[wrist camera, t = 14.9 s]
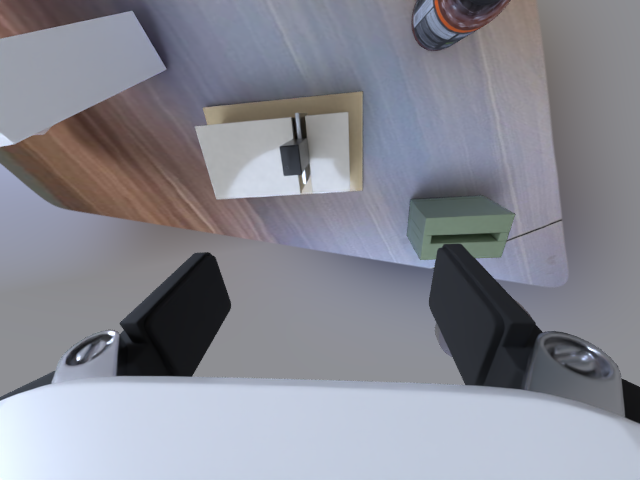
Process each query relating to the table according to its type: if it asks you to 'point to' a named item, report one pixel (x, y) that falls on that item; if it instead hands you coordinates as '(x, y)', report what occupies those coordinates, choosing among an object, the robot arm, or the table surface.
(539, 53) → the table surface
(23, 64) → the pile of blocks
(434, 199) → the knife block
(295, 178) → the cake
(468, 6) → the supplement bottle
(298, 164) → the knife
